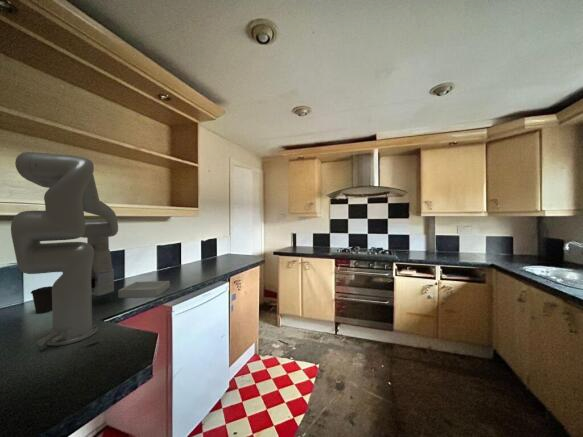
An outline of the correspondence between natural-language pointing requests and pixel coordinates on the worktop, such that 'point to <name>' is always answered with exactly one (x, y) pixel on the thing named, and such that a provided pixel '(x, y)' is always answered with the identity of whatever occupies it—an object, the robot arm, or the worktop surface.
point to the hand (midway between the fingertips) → (98, 285)
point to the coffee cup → (42, 299)
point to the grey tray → (144, 289)
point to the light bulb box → (103, 282)
